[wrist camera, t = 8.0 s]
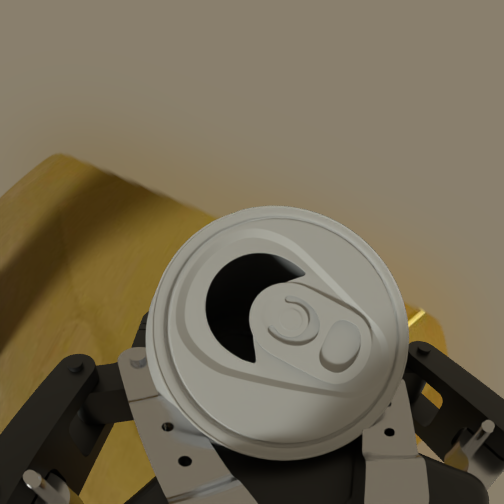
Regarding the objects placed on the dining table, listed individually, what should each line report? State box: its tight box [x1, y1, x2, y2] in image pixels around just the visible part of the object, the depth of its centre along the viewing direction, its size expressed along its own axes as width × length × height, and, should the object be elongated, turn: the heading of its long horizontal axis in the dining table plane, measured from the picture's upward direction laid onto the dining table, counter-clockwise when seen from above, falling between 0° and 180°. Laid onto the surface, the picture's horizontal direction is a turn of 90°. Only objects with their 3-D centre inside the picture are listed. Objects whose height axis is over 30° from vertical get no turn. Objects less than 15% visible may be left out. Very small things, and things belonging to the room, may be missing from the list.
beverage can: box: [146, 206, 409, 461], centre depth 11 cm, size 6×6×12 cm
